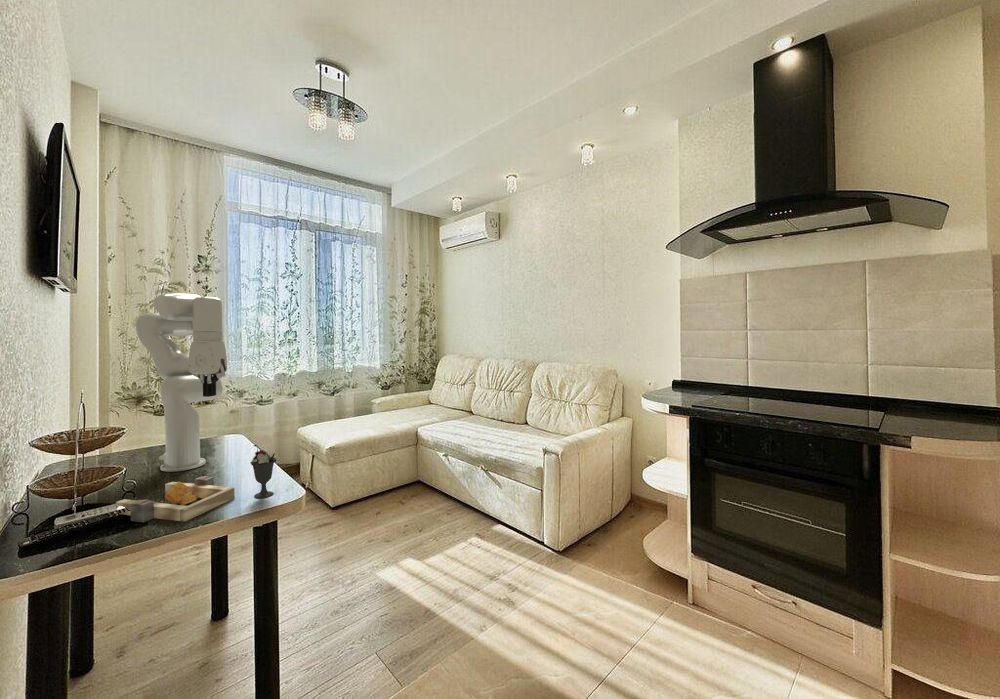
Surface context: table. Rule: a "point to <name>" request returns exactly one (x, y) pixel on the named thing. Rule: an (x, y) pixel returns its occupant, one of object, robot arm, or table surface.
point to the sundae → (263, 471)
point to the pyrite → (180, 494)
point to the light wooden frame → (201, 489)
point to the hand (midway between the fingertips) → (209, 395)
